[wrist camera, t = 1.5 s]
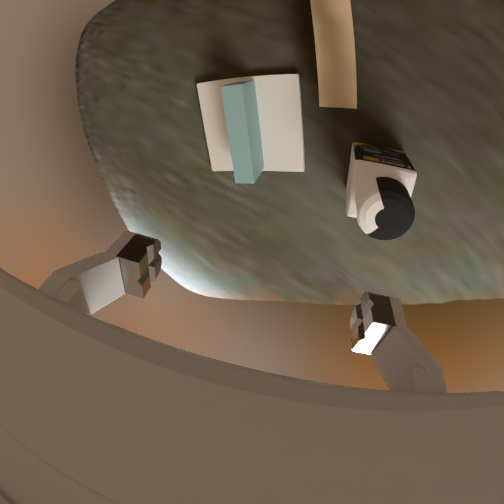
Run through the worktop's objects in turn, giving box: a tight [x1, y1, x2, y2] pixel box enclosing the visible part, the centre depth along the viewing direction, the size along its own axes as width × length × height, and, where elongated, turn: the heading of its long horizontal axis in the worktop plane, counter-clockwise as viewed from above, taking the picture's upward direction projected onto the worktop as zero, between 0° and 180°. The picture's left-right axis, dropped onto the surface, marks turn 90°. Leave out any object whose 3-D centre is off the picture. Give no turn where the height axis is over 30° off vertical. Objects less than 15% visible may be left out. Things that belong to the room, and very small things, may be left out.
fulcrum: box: [197, 74, 305, 183], centre depth 32 cm, size 13×13×6 cm
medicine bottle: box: [346, 142, 417, 240], centre depth 29 cm, size 7×7×12 cm
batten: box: [310, 0, 357, 109], centre depth 22 cm, size 4×16×5 cm, turn 8°
